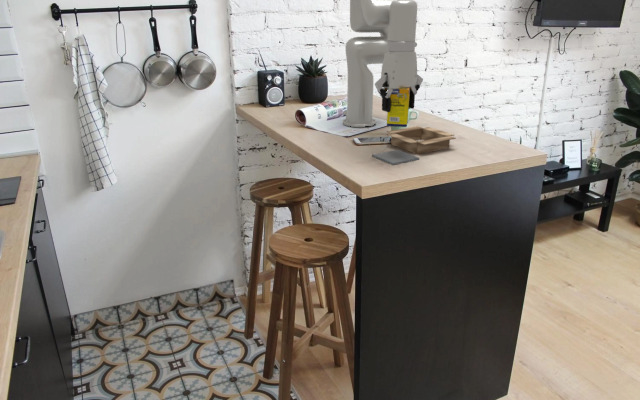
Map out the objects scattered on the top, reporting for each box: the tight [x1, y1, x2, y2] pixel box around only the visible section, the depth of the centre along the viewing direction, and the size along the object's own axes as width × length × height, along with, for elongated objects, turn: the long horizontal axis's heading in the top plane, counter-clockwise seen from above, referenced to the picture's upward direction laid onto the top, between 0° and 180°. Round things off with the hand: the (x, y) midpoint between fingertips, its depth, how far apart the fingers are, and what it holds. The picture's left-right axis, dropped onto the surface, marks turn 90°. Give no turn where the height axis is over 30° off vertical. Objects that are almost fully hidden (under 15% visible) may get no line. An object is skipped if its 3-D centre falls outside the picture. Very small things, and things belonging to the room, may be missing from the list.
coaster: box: [371, 149, 420, 166], centre depth 157 cm, size 10×10×1 cm
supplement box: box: [386, 88, 410, 128], centre depth 151 cm, size 6×6×11 cm
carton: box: [386, 125, 457, 155], centre depth 168 cm, size 18×18×4 cm
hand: (398, 109), depth 152 cm, fingers closed on supplement box, 8 cm apart
